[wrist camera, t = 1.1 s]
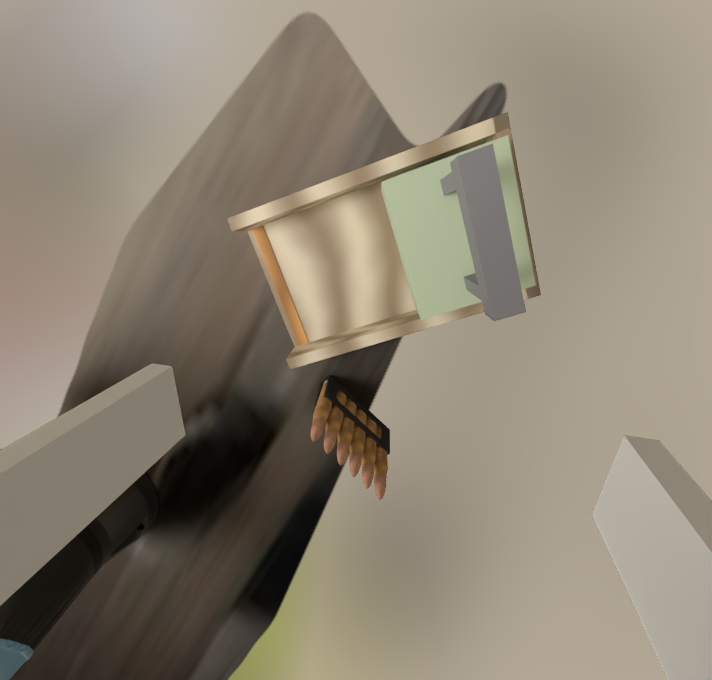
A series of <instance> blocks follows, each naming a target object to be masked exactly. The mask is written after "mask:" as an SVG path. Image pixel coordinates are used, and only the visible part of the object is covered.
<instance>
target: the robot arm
mask: <svg viewBox="0 0 712 680" xmlns="http://www.w3.org/2000/svg"><path fill="white" fill-rule="evenodd" d="M184 436H185V430H184V425H183V420H182V415H181V409H180V404H179V399H178V394H177V389H176V384H175V379H174V374H173V369H172V366H166V365H160V364H153V363H152V364H150V365H148V366H146V367H145V368H143V369H141V370H139V371H138V372H136V373H134V374H133V375H131V376H129V377H127V378H126V379H124V380H122V381H120V382H119V383H117V384H115V385H113V386H112V387H110V388H108V389H106V390H105V391H103V392H101V393H99V394H98V395H96V396H94V397H92V398H91V399H89V400H87V401H85V402H84V403H82V404H80V405H78V406H77V407H75V408H73V409H71V410H70V411H68V412H66V413H64V414H63V415H61V416H59V417H57V418H56V419H54V420H52V421H50V422H49V423H47V424H45V425H43V426H42V427H40V428H38V429H36V430H35V431H33V432H31V433H29V434H28V435H26V436H24V437H22V438H21V439H19V440H17V441H15V442H14V443H12V444H10V445H8V446H7V447H5V448H3V449H0V680H9V679H10V678H11V677H12V676H13V674H14V673H15V672H16V671H17V670H18V669H19V668H20V667H21V665H22V664H23V663H24V662H26V661H27V660H28V659H29V658H30V657H31V656H32V655H33V651H34V650H35V648H36V647H37V646H38V645H39V644H40V642H41V641H42V640H43V639H44V637H45V636H46V635H47V634H48V632H49V631H50V630H51V629H52V627H53V626H54V625H55V624H56V622H57V621H58V620H59V619H60V617H61V616H62V615H63V614H64V612H65V611H66V610H67V609H68V607H69V606H70V605H71V604H72V602H73V601H74V600H75V599H76V597H77V596H78V595H79V594H80V592H81V591H82V590H83V589H84V587H85V586H86V585H87V584H88V582H89V581H90V580H91V579H92V577H93V576H94V575H95V574H96V572H97V571H98V570H99V569H100V568H101V566H102V565H104V564H105V563H106V562H108V561H109V560H110V559H112V558H113V557H115V556H116V555H117V554H119V553H120V552H121V551H123V550H124V549H125V548H127V547H128V546H130V545H131V544H132V543H134V542H135V541H136V540H138V539H139V538H140V537H141V536H142V535H143V534H144V533H145V532H146V530H147V529H148V528H149V527H150V525H151V524H152V523H153V521H154V520H155V518H156V516H157V513H158V509H159V500H158V495H157V492H156V489H155V487H154V485H153V483H152V482H151V480H150V479H149V478H148V476H147V475H146V474H145V472H146V471H147V470H148V469H149V468H150V467H151V466H152V465H154V464H155V463H156V462H157V461H158V460H159V459H160V458H161V457H162V456H163V455H164V454H165V453H167V452H168V451H169V450H170V449H171V448H172V447H173V446H174V445H175V444H176V443H177V442H178V441H180V440H181V439H182V438H183V437H184ZM592 516H593V518H594V520H595V523H596V525H597V527H598V529H599V531H600V533H601V536H602V538H603V540H604V542H605V544H606V546H607V549H608V551H609V553H610V555H611V557H612V560H613V562H614V564H615V566H616V568H617V570H618V573H619V575H620V577H621V579H622V581H623V583H624V586H625V588H626V590H627V592H628V594H629V596H630V599H631V601H632V603H633V605H634V607H635V609H636V612H637V613H638V616H639V618H640V620H641V623H642V625H643V627H644V629H645V631H646V633H647V636H648V638H649V640H650V642H651V644H652V646H653V649H654V651H655V653H656V655H657V657H658V660H659V662H660V664H661V666H662V668H663V670H664V673H665V675H666V677H667V679H668V680H712V501H711V500H710V498H709V497H708V496H707V495H706V494H705V493H704V492H703V490H702V489H701V488H700V487H699V486H698V485H697V484H696V482H695V481H694V480H693V479H692V478H691V477H690V475H689V474H688V473H687V472H686V471H685V470H684V469H683V468H682V466H681V465H680V464H679V463H678V462H677V461H676V460H675V458H674V457H673V456H672V455H671V454H670V453H669V451H668V450H667V449H666V448H665V447H664V446H663V445H662V444H661V442H660V441H659V440H652V439H646V438H639V437H632V436H626V435H624V437H623V439H622V441H621V444H620V446H619V449H618V451H617V454H616V456H615V459H614V461H613V464H612V466H611V469H610V471H609V474H608V476H607V478H606V481H605V483H604V486H603V488H602V491H601V494H600V496H599V498H598V501H597V503H596V506H595V508H594V511H593V513H592Z"/></svg>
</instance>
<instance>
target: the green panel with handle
mask: <svg viewBox="0 0 712 680" xmlns="http://www.w3.org/2000/svg"><path fill="white" fill-rule="evenodd" d="M381 192H382V196H383V199H384V203H385V206H386V209H387V213H388V216H389V220H390V223H391V227H392V230H393V234H394V237H395V240H396V244H397V247H398V251H399V254H400V258H401V261H402V264H403V268H404V271H405V275H406V278H407V282H408V285H409V289H410V292H411V295H412V299H413V302H414V305H415V307H416V309H417V311H418V314H419V316H420V318H421V320H423V319H426V318H430V317H433V316H436V315H440V314H443V313H446V312H450V311H453V310H456V309H460V308H463V307H466V306H470V305H473V304H476V303H480V302H482V303H483V308H484V312H485V314H486V315H487V316H488V317H490V318H491V319H492V320H493V321H496V320H499V319H503V318H507V317H510V316H513V315H517V314H520V313H524V312H526V310H525V304H524V299H523V294H522V290H523V289H526V288H529V287H533V286H536V284H535V278H534V273H533V267H532V262H531V257H530V251H529V246H528V240H527V235H526V230H525V224H524V219H523V213H522V208H521V202H520V197H519V192H518V186H517V181H516V175H515V170H514V164H513V159H512V154H511V148H510V143H509V137H508V135H507V136H504V137H501V138H499V139H496V140H493V141H490V142H488V143H485V144H482V145H480V146H477V147H474V148H472V149H469V150H466V151H463V152H461V153H458V154H455V155H453V156H450V157H447V158H445V159H442V160H439V161H436V162H434V163H431V164H428V165H426V166H423V167H420V168H418V169H415V170H412V171H409V172H407V173H404V174H401V175H399V176H396V177H393V178H391V179H388V180H385V181H382V184H381Z"/></svg>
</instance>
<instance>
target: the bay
mask: <svg viewBox="0 0 712 680" xmlns="http://www.w3.org/2000/svg"><path fill="white" fill-rule="evenodd" d="M507 135H508V137H509V143H510V148H511V154H512V159H513V164H514V170H515V175H516V181H517V186H518V192H519V197H520V202H521V208H522V213H523V219H524V224H525V230H526V235H527V240H528V246H529V251H530V257H531V262H532V267H533V273H534V278H535V284H536V286H533V287H529V288H526V289H523V290H522V294H523V299H524V300H526V299H529V298H532V297H535V296H539V295H541V294H540V288H539V283H538V277H537V272H536V266H535V261H534V255H533V250H532V244H531V239H530V233H529V228H528V223H527V217H526V211H525V206H524V200H523V195H522V189H521V183H520V178H519V173H518V168H517V161H516V156H515V150H514V145H513V140H512V134H511V128H510V124H509V117H508V113H504V114H501V115H499V116H496V117H494V118H491V119H488V120H486V121H483V122H480V123H478V124H475V125H472V126H470V127H467V128H465V129H462V130H459V131H457V132H454V133H451V134H449V135H446V136H444V137H441V138H438V139H436V140H433V141H431V142H428V143H425V144H422V145H420V146H417V147H415V148H412V149H409V150H407V151H404V152H401V153H399V154H396V155H394V156H391V157H388V158H386V159H383V160H380V161H378V162H375V163H373V164H370V165H367V166H365V167H362V168H359V169H357V170H354V171H351V172H349V173H346V174H344V175H341V176H338V177H336V178H333V179H330V180H328V181H325V182H323V183H320V184H317V185H315V186H312V187H309V188H307V189H304V190H301V191H299V192H296V193H294V194H291V195H288V196H286V197H283V198H280V199H278V200H275V201H273V202H270V203H267V204H265V205H262V206H259V207H257V208H254V209H252V210H249V211H246V212H244V213H241V214H238V215H236V216H233V217H230V218H228V219H227V220H228V222H229V225H230V227H231V229H232V231H248V234H249V236H250V238H251V241H252V243H253V246H254V248H255V251H256V253H257V256H258V258H259V261H260V263H261V266H262V268H263V270H264V273H265V275H266V278H267V280H268V283H269V285H270V288H271V290H272V293H273V295H274V298H275V300H276V302H277V305H278V307H279V310H280V312H281V315H282V317H283V320H284V322H285V325H286V327H287V329H288V332H289V334H290V337H291V339H292V342H293V344H294V348H293V350H292V351H291V353H290V354H289V356H288V357H287V359H286V361H287V363H288V365H289V368H290V369H293V368H296V367H300V366H303V365H307V364H310V363H313V362H317V361H320V360H323V359H327V358H330V357H334V356H337V355H340V354H344V353H347V352H350V351H354V350H357V349H360V348H364V347H367V346H371V345H374V344H377V343H381V342H384V341H387V340H391V339H394V338H398V337H401V336H404V335H408V334H411V333H414V332H418V331H421V330H424V329H428V328H431V327H435V326H438V325H441V324H445V323H448V322H451V321H455V320H458V319H462V318H465V317H468V316H472V315H475V314H478V313H482V312H484V308H483V303H482V302H480V303H476V304H473V305H470V306H466V307H463V308H460V309H456V310H453V311H450V312H446V313H443V314H440V315H436V316H433V317H430V318H426V319H423V320H421V318H420V316H419V314H418V311H417V309H416V307H415V305H414V302H413V299H412V295H411V292H410V289H409V285H408V282H407V278H406V275H405V271H404V268H403V264H402V261H401V258H400V254H399V251H398V247H397V244H396V240H395V237H394V234H393V230H392V227H391V223H390V220H389V216H388V213H387V209H386V206H385V203H384V199H383V196H382V192H381V184H382V181H385V180H388V179H391V178H393V177H396V176H399V175H401V174H404V173H407V172H409V171H412V170H415V169H418V168H420V167H423V166H426V165H428V164H431V163H434V162H436V161H439V160H442V159H445V158H447V157H450V156H453V155H455V154H458V153H461V152H463V151H466V150H469V149H472V148H474V147H477V146H480V145H482V144H485V143H488V142H490V141H493V140H496V139H499V138H501V137H504V136H507Z"/></svg>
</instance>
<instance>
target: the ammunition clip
mask: <svg viewBox="0 0 712 680" xmlns="http://www.w3.org/2000/svg"><path fill="white" fill-rule="evenodd" d="M315 406H316V408H315V411H314V414H313V423H312V427H311V439H312V441H313V442H315V441H316V440H317V439H318V438H319V437H320V435H321V434H322V431H323V429H324V426H325V423H326V426H325V428H326V432H325V438H324V449H325V452H326V453H327V454H328V453H330V452H331V450H332V449H333V447H334V445H335V443H336V439H337V438H338V445H337V446H338V447H337V459H338V463H339V465H343V464H344V462H345V461H346V459H347V456H348V453H349V450H350V470H351V474H352V476H353V477H355V476H356V475H357V473H358V472H359V469H360V465H361V461H362V477H363V482H364V485H365V487H366V488H369V487H370V485H371V483H372V479H373V474H374V483H375V491H376V494H377V496H378V498H379V499H382V498H383V496H384V493H385V488H386V474H387V469H388V467H387V454H389V453H390V430H389V429H388V428H387V427H386V426H385V425H384V424H383V423H382V422H381V421H380V420H379V419H377V418H376V417H375V416H374V415H373V414H372V413H371V412H370V411H369V410H368V409H367V408H366V407H365V406H363V405H362V404H361V403H360V402H359V401H358V400H357V399H356V398H355V397H354V396H353V395H352V394H350V393H349V392H348V391H347V390H346V389H345V388H344V387H343V386H342V385H341V384H340V383H339V382H338V381H336V380H335V379H334V378H333V377H332V376H328V377H327V378H326V379H325V380H324V381H323V382H322V383H321V384H320V387H319V391H318V394H317V398H316V402H315Z"/></svg>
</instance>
